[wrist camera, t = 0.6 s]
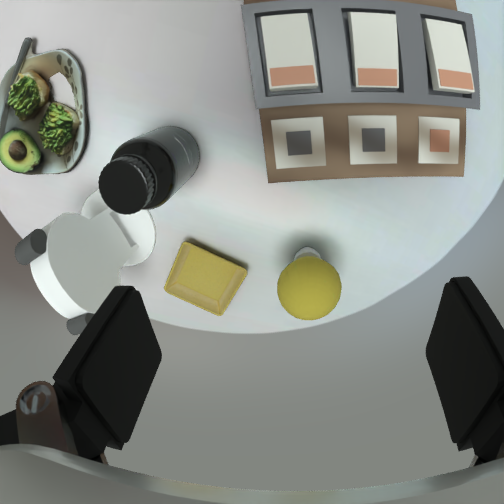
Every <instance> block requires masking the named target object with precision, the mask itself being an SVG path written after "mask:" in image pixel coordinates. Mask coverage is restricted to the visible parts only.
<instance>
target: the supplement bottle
mask: <svg viewBox="0 0 504 504" xmlns="http://www.w3.org/2000/svg"><path fill="white" fill-rule="evenodd" d="M198 163H199V149H198V146H197V144H196V142H195V140H194V139H193V137H192V136H191V135H190V134H189V133H188V132H186V131H185V130H183V129H181V128H178V127H174V126H166V127H161V128H158V129H156V130H153V131H150V132H148V133H145V134H143V135H140V136H138V137H136V138H133V139H131V140H128V141H127V142H125V143H123V144H122V145H121V146H120V147H118V149H117V150H116V151H115V152H114V154H113V156H112V158H111V161H110V163H108V164H107V165H106V166H105V167H104V168H103V171H102V172H101V175H100V176H99V182H98V183H99V190H100V194H101V198H102V199H103V201H104V203H106V205H107V206H108V207H110V209H111V210H114V211H115V212H117V213H119V214H124V215H127V214H128V215H131V214H135V213H136V212H139V211H140V210H151V209H154V208H157V207H159V206H161V205H163V204H164V203H165V202H166V201H168V200H169V199H170V198H171V197H172V196H173V195H174V194H175V193H176V192H177V191H178V190H179V189H180V188H181V187H182V186H183V185H184V184H185V183H186V182H187V181H188V180H189V179H190V178H191V176H192V175H193V174H194V173H195V171H196V169H197V167H198Z"/></svg>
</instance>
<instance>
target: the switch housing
mask: <svg viewBox="0 0 504 504" xmlns="http://www.w3.org/2000/svg"><path fill="white" fill-rule="evenodd" d="M241 9H242V15H243V22H244V28H245V35H246V42H247V49H248V56H249V63H250V70H251V77H252V84H253V92H254V99H255V106H256V109H261V108H271V107H281V106H294V105H309V104H329V103H407V104H427V105H441V106H452V107H462V108H471V109H480V90H479V71H478V58H477V48H476V39H475V31H474V24H473V18H472V14H469V13H464V12H460V11H455V10H451V9H445V8H440V7H435V6H428V5H422V4H415V3H407V2H399V1H389V0H279V1H269V2H260V3H252V4H245V5H241ZM347 12H365V13H383V14H395V15H396V23H397V38H398V64H399V88H385V87H356V86H355V85H354V84H353V73H352V58H351V45H350V33H349V23H348V14H347ZM297 13H307V15H308V21H309V27H310V33H311V39H312V45H313V52H314V59H315V66H316V73H317V81H318V87H317V88H313V89H297V90H284V91H273V92H271V91H270V88H269V79H268V71H267V63H266V55H265V47H264V39H263V32H262V24H261V17H263V16H273V15H284V14H297ZM425 18H426V19H433V20H439V21H445V22H451V23H456V24H461V25H462V29H463V33H464V37H465V41H466V46H467V51H468V55H469V60H470V66H471V71H472V77H473V83H474V90H475V92H474V93H470V94H464V93H456V92H447V91H437V90H433V86H432V79H431V73H430V67H429V61H428V55H427V50H426V45H425V40H424V36H423V29H422V21H423V20H424V19H425Z"/></svg>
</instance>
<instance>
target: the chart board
mask: <svg viewBox="0 0 504 504" xmlns="http://www.w3.org/2000/svg"><path fill="white" fill-rule="evenodd" d="M269 1H279V0H244V5H245V4H252V3H260V2H269ZM389 1H399V2H407V3H415V4H422V5H428V6H435V7H440V8H445V9H451V10H455V11H457V6H456V1H455V0H389ZM259 112H260V119H261V127H262V135H263V143H264V151H265V159H266V167H267V175H268V183H278V182H291V181H306V180H322V179H342V178H366V177H407V176H457V177H464V164H465V145H466V108H462V107H452V106H441V105H427V104H407V103H329V104H309V105H294V106H281V107H271V108H261V109H259Z"/></svg>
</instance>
